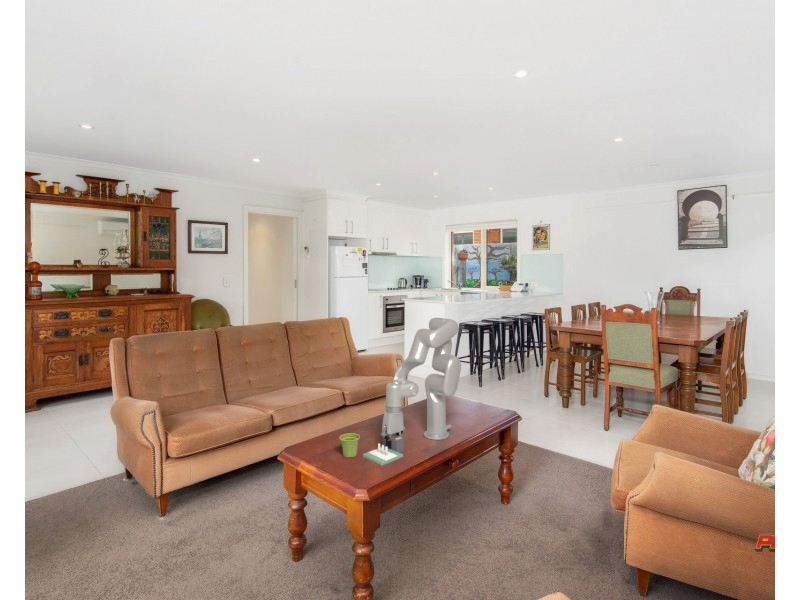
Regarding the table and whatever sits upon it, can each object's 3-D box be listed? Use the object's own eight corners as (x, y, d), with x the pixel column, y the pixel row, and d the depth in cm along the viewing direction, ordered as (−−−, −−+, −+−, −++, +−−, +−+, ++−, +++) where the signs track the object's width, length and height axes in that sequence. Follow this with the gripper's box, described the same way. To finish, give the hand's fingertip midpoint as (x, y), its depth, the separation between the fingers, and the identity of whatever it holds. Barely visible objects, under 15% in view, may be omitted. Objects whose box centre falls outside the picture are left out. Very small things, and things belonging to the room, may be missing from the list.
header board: (383, 448, 216) (383, 437, 215) (403, 456, 207) (403, 445, 206) (362, 456, 207) (362, 445, 206) (381, 465, 198) (381, 453, 197)
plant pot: (335, 456, 207) (334, 437, 207) (348, 449, 215) (348, 431, 215) (351, 461, 202) (350, 442, 202) (364, 453, 210) (364, 435, 209)
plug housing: (389, 444, 221) (389, 432, 220) (404, 450, 214) (404, 437, 213) (382, 447, 217) (382, 434, 217) (396, 453, 210) (396, 440, 210)
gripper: (401, 403, 223) (400, 440, 224) (374, 410, 211) (374, 449, 212) (412, 407, 217) (411, 444, 219) (385, 414, 206) (385, 453, 207)
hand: (393, 446), depth 215 cm, fingers closed on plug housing, 5 cm apart
